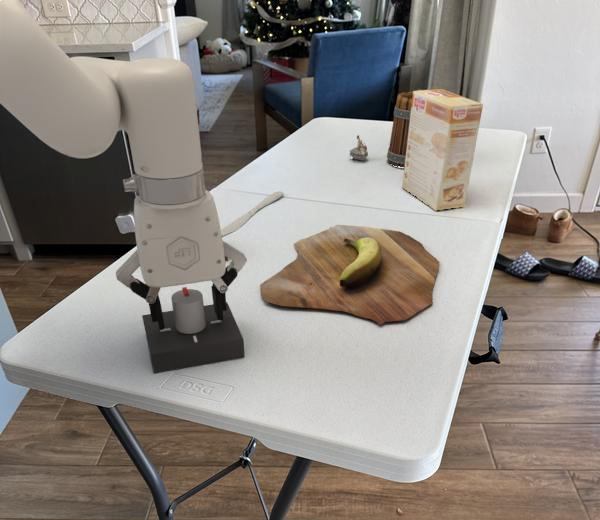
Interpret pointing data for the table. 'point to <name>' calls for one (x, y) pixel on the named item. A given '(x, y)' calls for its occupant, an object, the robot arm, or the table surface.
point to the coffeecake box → (441, 147)
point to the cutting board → (357, 274)
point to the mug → (400, 130)
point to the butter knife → (250, 213)
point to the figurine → (359, 151)
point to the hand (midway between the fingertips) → (190, 319)
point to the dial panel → (193, 341)
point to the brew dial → (188, 311)
